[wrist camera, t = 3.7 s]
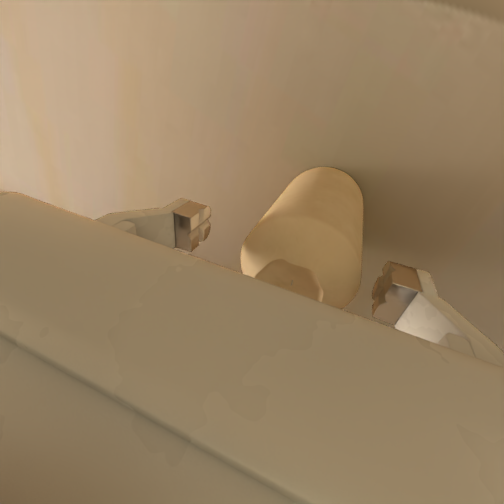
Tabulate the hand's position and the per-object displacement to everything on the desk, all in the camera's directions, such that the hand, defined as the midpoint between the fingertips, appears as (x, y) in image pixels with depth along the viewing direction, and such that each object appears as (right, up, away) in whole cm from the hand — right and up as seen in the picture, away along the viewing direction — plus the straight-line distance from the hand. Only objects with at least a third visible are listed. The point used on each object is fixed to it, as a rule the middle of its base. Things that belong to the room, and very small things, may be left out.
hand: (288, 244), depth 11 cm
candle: (+3, +3, +7) cm, 8 cm away
